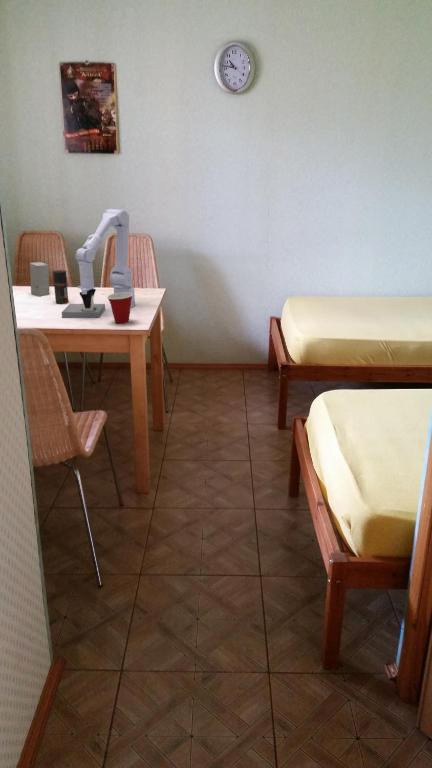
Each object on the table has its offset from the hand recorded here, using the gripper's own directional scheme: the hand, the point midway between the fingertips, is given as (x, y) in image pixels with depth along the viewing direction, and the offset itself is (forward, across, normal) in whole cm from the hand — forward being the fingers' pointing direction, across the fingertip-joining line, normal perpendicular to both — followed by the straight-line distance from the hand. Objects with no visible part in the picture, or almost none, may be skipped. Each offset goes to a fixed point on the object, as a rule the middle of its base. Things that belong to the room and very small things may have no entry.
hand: (88, 306), depth 274 cm
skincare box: (+4, -42, -33) cm, 54 cm away
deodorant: (+4, -24, -18) cm, 30 cm away
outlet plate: (+4, -3, -3) cm, 6 cm away
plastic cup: (+4, +12, +16) cm, 20 cm away
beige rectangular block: (+3, 0, 0) cm, 3 cm away
